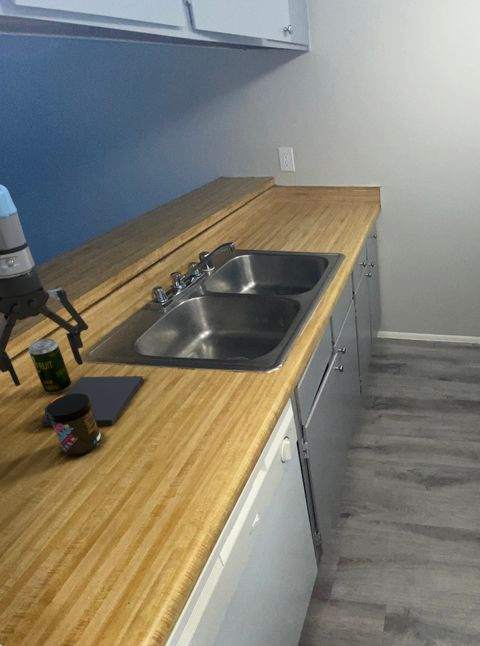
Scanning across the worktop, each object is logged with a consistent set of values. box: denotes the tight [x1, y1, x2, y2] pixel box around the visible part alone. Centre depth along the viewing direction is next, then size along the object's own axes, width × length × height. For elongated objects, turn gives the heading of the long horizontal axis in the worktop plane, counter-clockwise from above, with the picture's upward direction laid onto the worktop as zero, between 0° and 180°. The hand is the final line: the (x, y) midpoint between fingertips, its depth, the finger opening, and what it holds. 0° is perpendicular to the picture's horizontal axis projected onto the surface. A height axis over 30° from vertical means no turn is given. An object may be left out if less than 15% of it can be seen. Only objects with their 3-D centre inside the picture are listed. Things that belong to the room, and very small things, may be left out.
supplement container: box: [46, 393, 102, 457], centre depth 92 cm, size 7×7×10 cm
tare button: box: [50, 395, 64, 403], centre depth 100 cm, size 3×3×2 cm
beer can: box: [28, 338, 72, 395], centre depth 108 cm, size 5×5×12 cm
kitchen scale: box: [40, 375, 144, 427], centre depth 106 cm, size 14×16×3 cm
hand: (49, 371), depth 96 cm, fingers open, 10 cm apart
